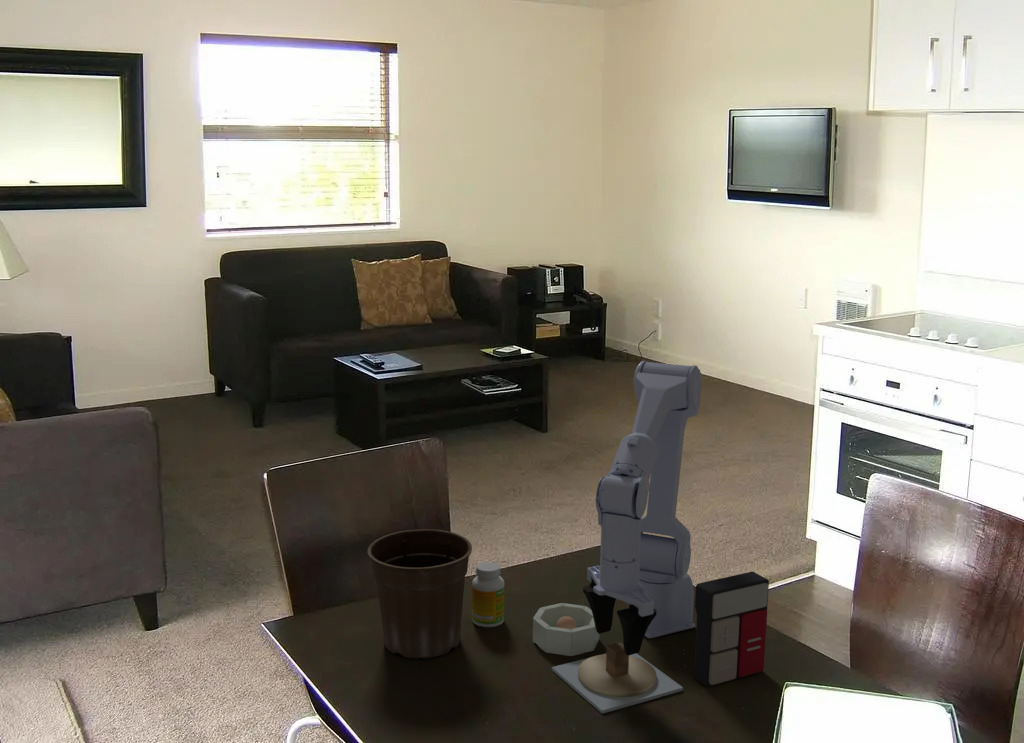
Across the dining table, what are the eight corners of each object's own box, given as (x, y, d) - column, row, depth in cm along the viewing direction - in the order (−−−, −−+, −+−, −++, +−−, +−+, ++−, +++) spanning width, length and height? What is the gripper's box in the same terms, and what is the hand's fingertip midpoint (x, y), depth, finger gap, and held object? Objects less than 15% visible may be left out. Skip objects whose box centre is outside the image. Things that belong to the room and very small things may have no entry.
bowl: (576, 621, 174) (576, 599, 173) (609, 646, 165) (610, 623, 164) (523, 634, 169) (524, 611, 168) (554, 660, 161) (555, 636, 160)
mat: (628, 650, 164) (628, 647, 164) (682, 690, 152) (683, 687, 152) (551, 670, 157) (551, 667, 157) (602, 713, 145) (602, 710, 145)
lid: (627, 652, 162) (628, 623, 161) (672, 685, 152) (673, 655, 151) (563, 668, 157) (563, 639, 156) (605, 704, 147) (606, 673, 146)
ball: (569, 629, 169) (570, 611, 168) (579, 637, 166) (580, 619, 166) (552, 633, 168) (552, 615, 167) (562, 641, 165) (563, 623, 164)
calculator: (708, 690, 152) (713, 594, 149) (690, 677, 156) (695, 583, 153) (767, 673, 157) (773, 580, 154) (748, 661, 161) (753, 570, 158)
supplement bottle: (500, 629, 171) (500, 574, 169) (468, 626, 172) (468, 571, 170) (507, 615, 176) (507, 561, 174) (476, 612, 177) (476, 558, 175)
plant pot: (384, 674, 156) (382, 573, 153) (359, 629, 171) (357, 536, 167) (486, 656, 162) (486, 558, 158) (453, 614, 176) (453, 523, 173)
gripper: (570, 543, 155) (568, 627, 158) (625, 578, 142) (622, 669, 145) (610, 535, 158) (608, 618, 161) (667, 569, 146) (663, 658, 149)
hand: (617, 642), depth 153 cm, fingers open, 7 cm apart
